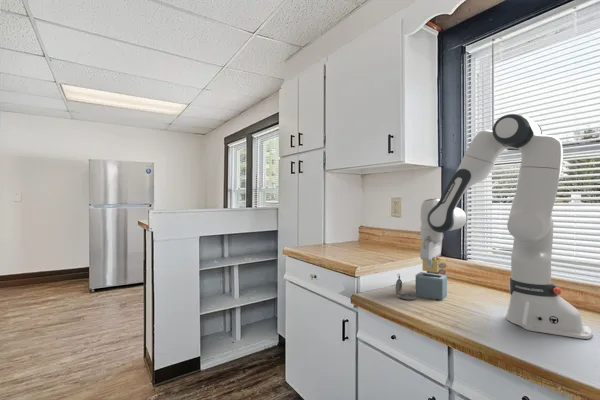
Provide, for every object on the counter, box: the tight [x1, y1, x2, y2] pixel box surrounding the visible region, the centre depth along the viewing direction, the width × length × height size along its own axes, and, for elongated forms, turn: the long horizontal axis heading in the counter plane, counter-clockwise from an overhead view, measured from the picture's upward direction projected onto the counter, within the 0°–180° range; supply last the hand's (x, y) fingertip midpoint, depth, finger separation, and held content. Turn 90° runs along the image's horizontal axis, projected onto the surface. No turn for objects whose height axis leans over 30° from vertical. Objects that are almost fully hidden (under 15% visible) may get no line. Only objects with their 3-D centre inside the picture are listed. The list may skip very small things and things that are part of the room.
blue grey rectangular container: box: [415, 271, 448, 301], centre depth 135 cm, size 11×8×9 cm
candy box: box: [426, 255, 447, 275], centre depth 146 cm, size 9×4×15 cm, turn 13°
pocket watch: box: [395, 273, 416, 301], centre depth 133 cm, size 8×8×10 cm
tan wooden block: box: [422, 259, 439, 273], centre depth 135 cm, size 6×3×5 cm, turn 53°
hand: (430, 267), depth 135 cm, fingers closed on tan wooden block, 3 cm apart
